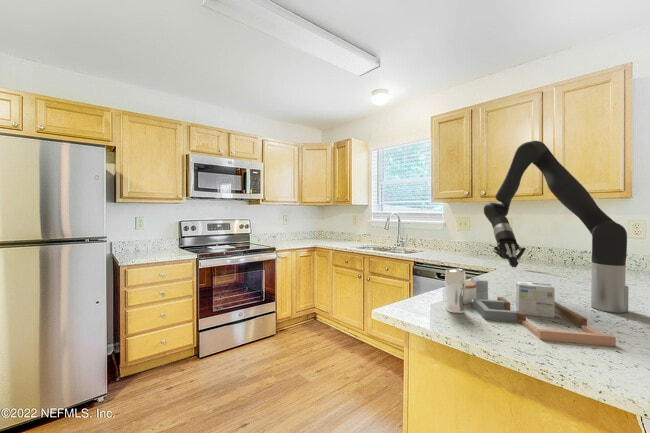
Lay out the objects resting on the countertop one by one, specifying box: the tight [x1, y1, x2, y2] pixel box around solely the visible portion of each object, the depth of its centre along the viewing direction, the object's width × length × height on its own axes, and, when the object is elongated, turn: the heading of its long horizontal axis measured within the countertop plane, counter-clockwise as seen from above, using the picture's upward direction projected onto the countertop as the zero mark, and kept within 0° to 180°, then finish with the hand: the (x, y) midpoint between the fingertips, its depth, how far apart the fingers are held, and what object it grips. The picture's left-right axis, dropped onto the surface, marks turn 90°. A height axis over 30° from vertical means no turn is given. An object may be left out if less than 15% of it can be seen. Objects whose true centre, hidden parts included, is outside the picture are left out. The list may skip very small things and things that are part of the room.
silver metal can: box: [444, 268, 467, 314], centre depth 107 cm, size 7×7×15 cm
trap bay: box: [472, 298, 518, 323], centre depth 104 cm, size 10×14×3 cm
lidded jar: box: [463, 280, 476, 305], centre depth 119 cm, size 11×11×9 cm
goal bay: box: [521, 320, 617, 347], centre depth 86 cm, size 18×12×2 cm, turn 77°
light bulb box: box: [515, 280, 556, 319], centre depth 105 cm, size 11×7×11 cm, turn 65°
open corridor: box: [496, 296, 588, 329], centre depth 103 cm, size 19×20×3 cm
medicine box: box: [470, 276, 489, 300], centre depth 122 cm, size 8×4×9 cm, turn 168°
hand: (514, 266), depth 122 cm, fingers closed
